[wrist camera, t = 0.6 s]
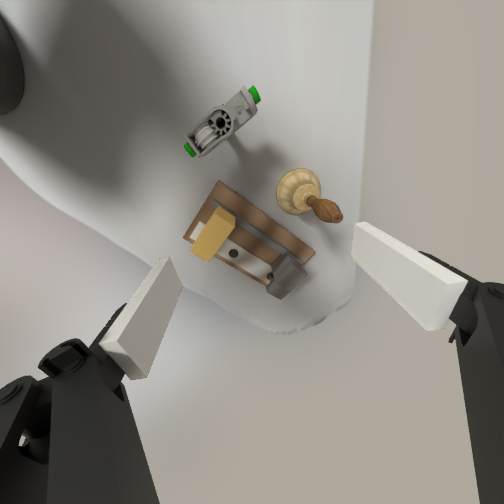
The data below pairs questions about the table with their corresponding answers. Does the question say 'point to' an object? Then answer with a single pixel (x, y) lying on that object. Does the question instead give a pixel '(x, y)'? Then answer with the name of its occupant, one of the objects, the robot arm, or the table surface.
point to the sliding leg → (213, 234)
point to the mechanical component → (222, 122)
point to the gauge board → (255, 243)
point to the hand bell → (305, 196)
